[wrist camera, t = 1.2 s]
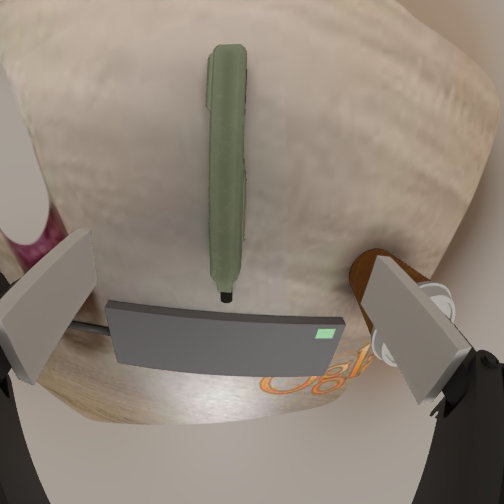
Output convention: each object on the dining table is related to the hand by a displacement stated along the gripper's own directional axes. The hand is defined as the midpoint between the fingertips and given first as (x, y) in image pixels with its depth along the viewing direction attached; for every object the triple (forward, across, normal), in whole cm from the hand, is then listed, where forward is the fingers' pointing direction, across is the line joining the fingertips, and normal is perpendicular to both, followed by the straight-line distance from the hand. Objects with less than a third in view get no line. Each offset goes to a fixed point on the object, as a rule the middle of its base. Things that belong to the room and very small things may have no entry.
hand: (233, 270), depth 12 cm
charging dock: (+17, -4, -20) cm, 26 cm away
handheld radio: (+17, -1, 0) cm, 17 cm away
